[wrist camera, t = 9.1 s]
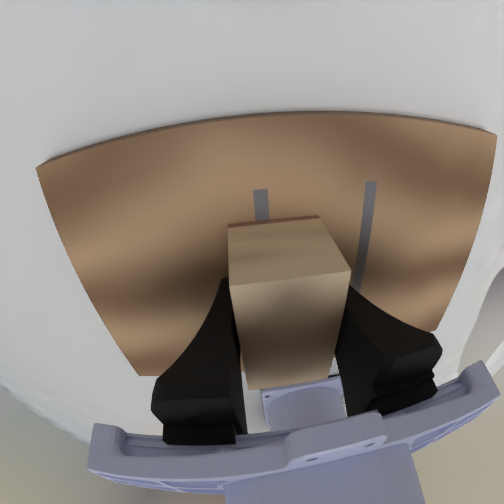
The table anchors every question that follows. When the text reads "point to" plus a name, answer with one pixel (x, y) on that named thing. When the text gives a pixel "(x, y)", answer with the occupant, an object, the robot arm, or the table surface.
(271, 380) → the block
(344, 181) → the board
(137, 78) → the table surface
